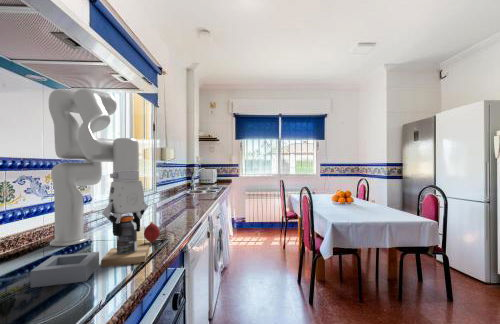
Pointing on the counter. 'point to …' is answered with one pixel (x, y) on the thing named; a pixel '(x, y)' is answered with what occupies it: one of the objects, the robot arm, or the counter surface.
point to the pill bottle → (127, 236)
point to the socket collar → (64, 269)
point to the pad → (125, 257)
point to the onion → (151, 232)
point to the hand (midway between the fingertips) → (127, 232)
